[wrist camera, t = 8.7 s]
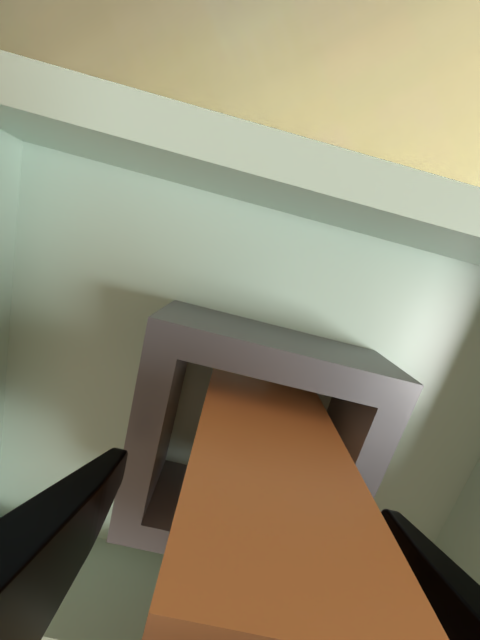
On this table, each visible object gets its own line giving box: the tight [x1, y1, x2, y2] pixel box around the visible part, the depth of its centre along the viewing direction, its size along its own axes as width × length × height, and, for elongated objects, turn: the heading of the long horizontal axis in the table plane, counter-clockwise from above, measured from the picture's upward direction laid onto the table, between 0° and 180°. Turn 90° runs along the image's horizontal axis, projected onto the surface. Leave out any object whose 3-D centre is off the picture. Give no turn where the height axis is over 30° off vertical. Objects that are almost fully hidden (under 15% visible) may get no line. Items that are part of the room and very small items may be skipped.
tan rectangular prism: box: [142, 368, 449, 640], centre depth 8 cm, size 4×4×8 cm
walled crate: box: [0, 50, 480, 640], centre depth 10 cm, size 22×18×4 cm
